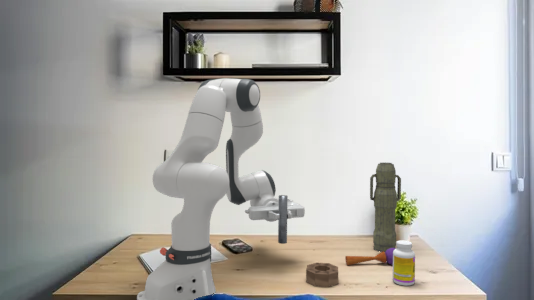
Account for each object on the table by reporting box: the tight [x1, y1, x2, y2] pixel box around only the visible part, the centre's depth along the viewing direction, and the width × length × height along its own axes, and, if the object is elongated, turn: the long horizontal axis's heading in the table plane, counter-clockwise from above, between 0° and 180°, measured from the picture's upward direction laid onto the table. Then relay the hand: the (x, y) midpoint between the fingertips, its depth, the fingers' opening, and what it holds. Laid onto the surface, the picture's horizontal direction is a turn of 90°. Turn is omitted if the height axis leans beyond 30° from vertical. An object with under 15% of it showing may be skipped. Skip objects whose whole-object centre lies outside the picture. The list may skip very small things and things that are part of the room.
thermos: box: [369, 162, 402, 253], centre depth 155 cm, size 9×12×35 cm
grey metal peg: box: [277, 194, 288, 244], centre depth 131 cm, size 3×3×16 cm
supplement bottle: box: [392, 239, 416, 287], centre depth 122 cm, size 7×7×13 cm
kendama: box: [344, 247, 397, 266], centre depth 138 cm, size 6×6×20 cm
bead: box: [305, 262, 339, 288], centre depth 123 cm, size 10×10×4 cm
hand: (283, 216), depth 130 cm, fingers closed on grey metal peg, 3 cm apart
